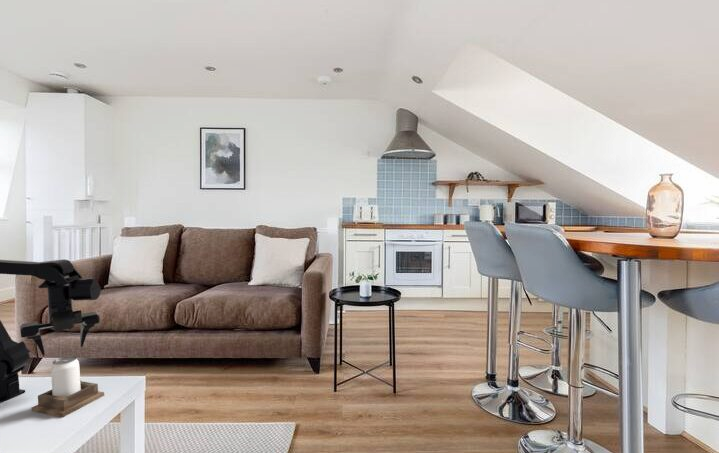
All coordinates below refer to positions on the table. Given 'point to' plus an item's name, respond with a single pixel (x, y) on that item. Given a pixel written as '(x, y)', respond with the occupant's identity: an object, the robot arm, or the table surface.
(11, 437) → the table surface
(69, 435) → the table surface
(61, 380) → the can
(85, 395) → the socket
